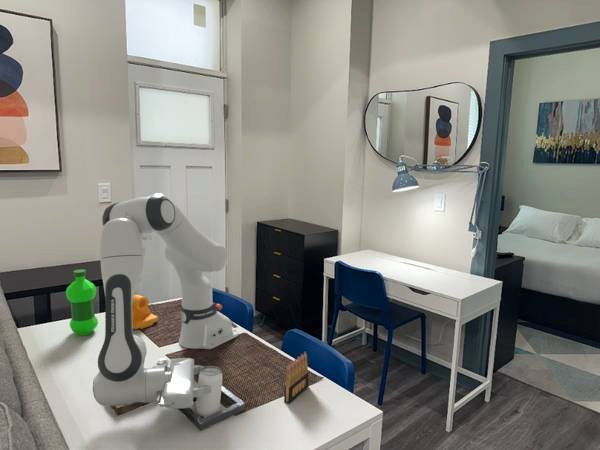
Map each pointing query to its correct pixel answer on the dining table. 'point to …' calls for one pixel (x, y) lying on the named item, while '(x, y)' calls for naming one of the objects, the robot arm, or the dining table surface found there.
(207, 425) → the dark grey square frame
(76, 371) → the dining table surface
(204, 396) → the can
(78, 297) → the plastic bottle
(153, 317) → the orange figurine
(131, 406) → the wooden square frame
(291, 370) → the ammunition clip
